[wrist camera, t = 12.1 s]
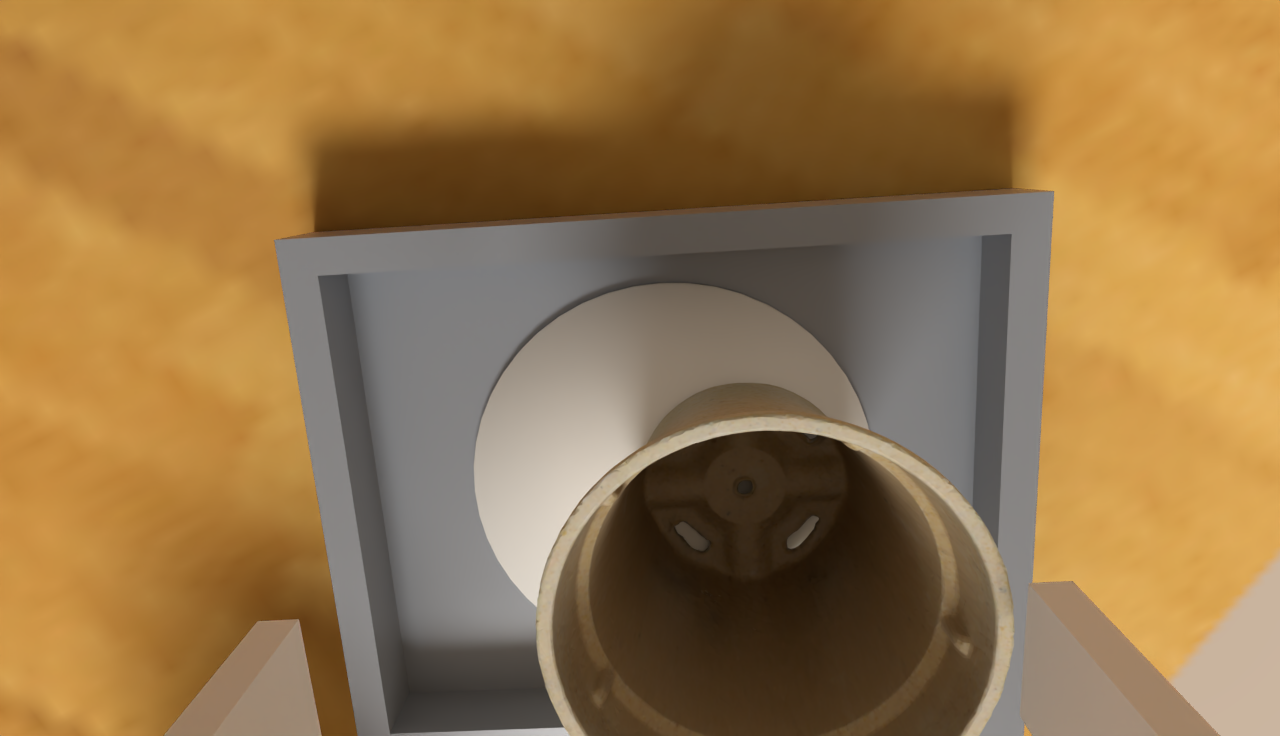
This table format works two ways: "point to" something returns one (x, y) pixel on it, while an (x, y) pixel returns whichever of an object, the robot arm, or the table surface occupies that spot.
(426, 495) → the housing tray
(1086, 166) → the table surface
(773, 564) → the flower pot
